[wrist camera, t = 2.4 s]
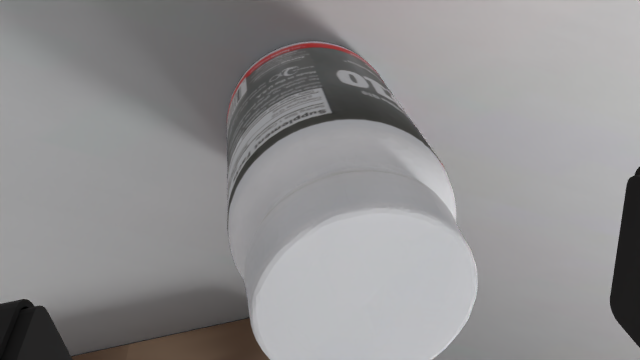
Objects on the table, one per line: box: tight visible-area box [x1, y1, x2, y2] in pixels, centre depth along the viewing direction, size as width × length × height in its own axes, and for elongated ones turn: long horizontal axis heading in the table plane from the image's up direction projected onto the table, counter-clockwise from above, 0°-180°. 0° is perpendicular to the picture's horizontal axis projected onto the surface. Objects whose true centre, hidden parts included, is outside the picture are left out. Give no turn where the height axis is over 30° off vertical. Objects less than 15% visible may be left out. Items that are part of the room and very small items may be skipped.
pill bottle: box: [227, 41, 478, 360], centre depth 14 cm, size 5×5×8 cm
